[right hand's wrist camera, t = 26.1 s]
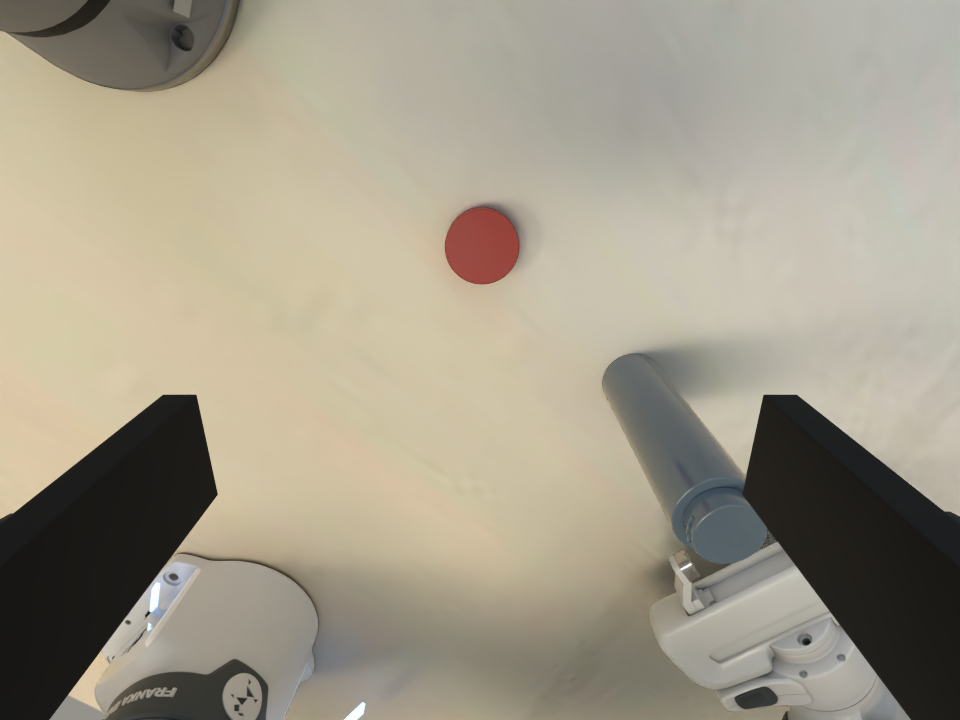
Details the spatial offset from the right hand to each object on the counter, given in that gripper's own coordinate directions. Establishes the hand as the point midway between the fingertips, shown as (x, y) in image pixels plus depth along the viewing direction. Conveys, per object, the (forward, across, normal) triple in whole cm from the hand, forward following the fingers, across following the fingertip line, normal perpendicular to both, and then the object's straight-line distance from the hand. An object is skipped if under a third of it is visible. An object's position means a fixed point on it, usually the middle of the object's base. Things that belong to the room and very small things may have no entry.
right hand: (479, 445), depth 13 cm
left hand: (+23, +20, -21) cm, 37 cm away
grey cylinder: (+29, +12, -11) cm, 34 cm away
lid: (+28, 0, 0) cm, 28 cm away
